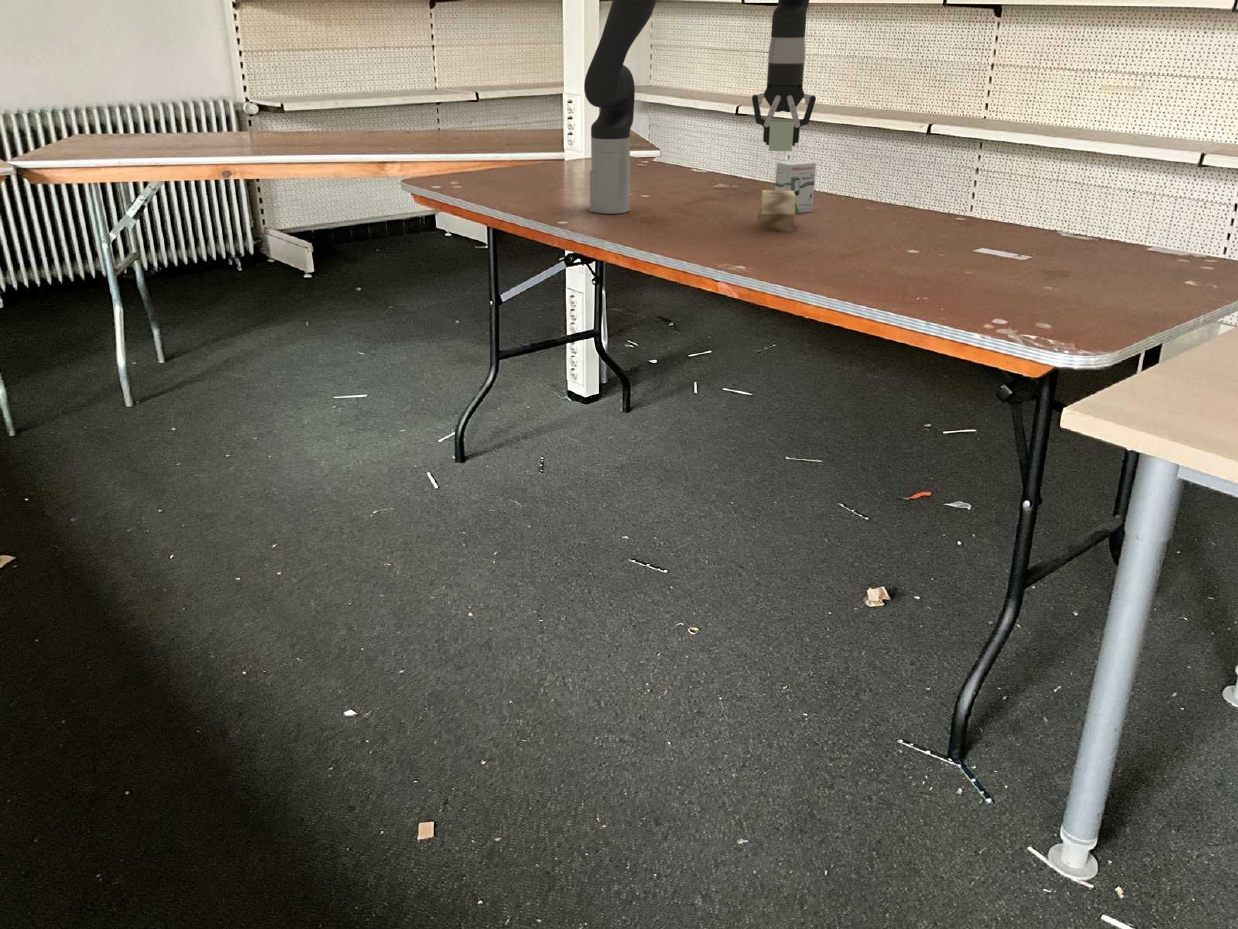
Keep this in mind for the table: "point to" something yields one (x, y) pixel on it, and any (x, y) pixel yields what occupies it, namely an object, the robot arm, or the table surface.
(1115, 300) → the table surface
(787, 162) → the ink box
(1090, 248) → the table surface
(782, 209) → the tower top
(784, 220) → the tower base
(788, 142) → the sage block
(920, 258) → the table surface
